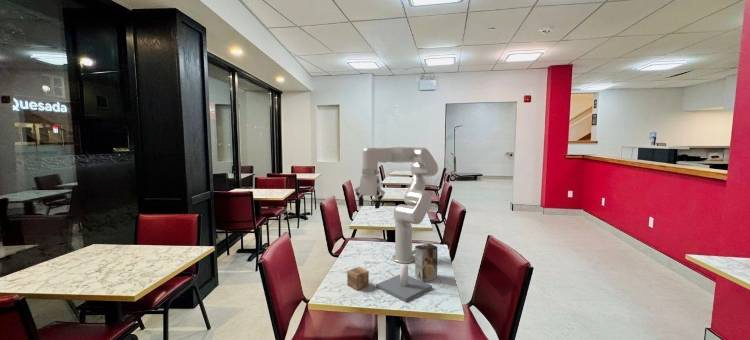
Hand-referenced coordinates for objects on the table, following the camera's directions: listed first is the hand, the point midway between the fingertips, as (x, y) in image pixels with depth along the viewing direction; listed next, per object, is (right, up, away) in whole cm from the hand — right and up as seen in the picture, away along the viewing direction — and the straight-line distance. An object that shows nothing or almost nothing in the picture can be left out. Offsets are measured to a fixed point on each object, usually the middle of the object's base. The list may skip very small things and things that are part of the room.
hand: (369, 207), depth 154 cm
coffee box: (+28, -35, -2) cm, 45 cm away
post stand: (+16, -35, -13) cm, 41 cm away
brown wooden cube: (-5, -35, -10) cm, 37 cm away
